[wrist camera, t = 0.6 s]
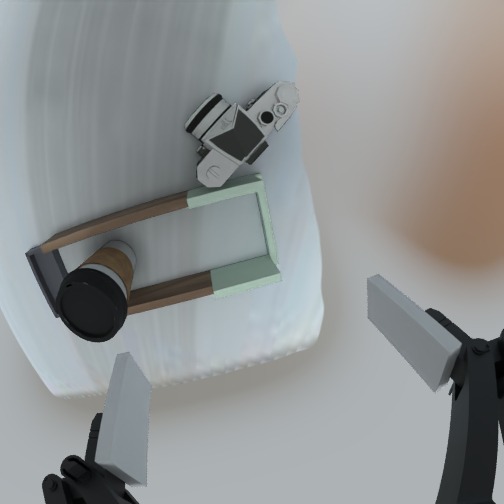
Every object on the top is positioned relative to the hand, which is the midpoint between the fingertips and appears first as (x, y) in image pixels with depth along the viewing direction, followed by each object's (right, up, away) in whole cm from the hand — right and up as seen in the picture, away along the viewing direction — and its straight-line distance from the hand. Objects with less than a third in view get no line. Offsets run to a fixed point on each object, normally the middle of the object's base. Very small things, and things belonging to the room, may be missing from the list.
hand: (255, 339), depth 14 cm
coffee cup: (-20, +3, +24) cm, 32 cm away
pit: (-32, 0, +23) cm, 39 cm away
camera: (-3, +21, +21) cm, 30 cm away
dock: (-3, +8, +26) cm, 27 cm away
